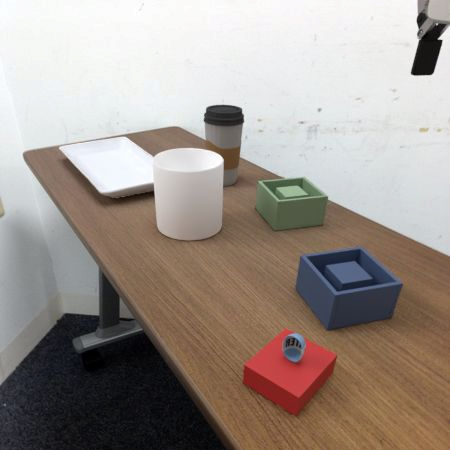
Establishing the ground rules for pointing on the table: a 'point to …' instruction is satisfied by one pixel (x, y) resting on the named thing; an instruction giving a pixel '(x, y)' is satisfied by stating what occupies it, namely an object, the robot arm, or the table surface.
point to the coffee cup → (225, 137)
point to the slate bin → (349, 299)
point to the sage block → (290, 192)
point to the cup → (188, 193)
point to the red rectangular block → (289, 370)
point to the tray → (113, 166)
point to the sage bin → (291, 204)
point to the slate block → (347, 276)
